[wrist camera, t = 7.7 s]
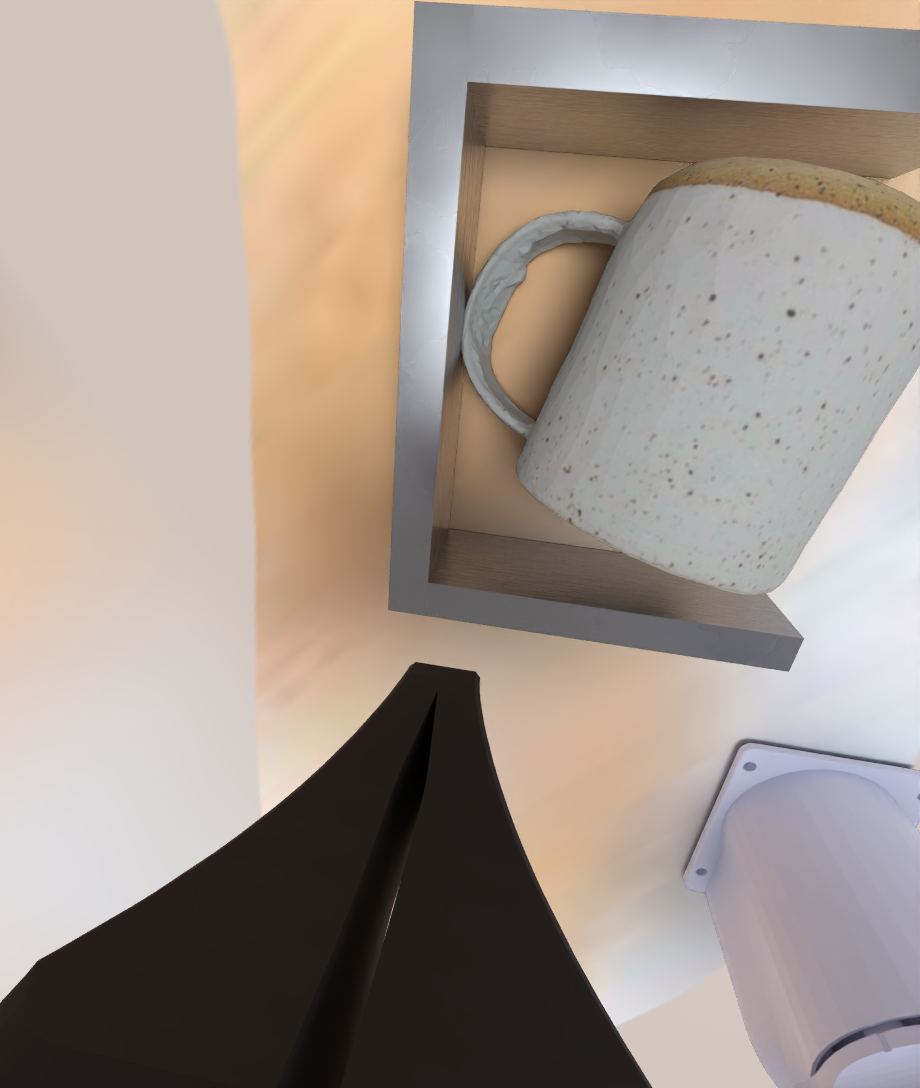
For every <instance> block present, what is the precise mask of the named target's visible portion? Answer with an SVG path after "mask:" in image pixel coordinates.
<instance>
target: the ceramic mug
mask: <svg viewBox="0 0 920 1088" xmlns="http://www.w3.org/2000/svg"><path fill="white" fill-rule="evenodd" d="M571 242H573V243H582V242H591V243H599V244H609V245H612V246H616V247H615V249H614V251H613V253H612V255H611V257H610V259H609V261H608V263H607V265H606V268H605V270H604V272H603V275H602V277H601V279H600V282H599V284H598V286H597V289H596V291H595V293H594V295H593V298H592V300H591V303H590V305H589V308H588V310H587V313H586V315H585V317H584V320H583V322H582V324H581V326H580V329H579V331H578V333H577V336H576V338H575V340H574V343H573V345H572V347H571V349H570V351H569V353H568V355H567V357H566V359H565V361H564V363H563V365H562V367H561V368H560V370H559V372H558V374H557V376H556V378H555V380H554V382H553V385H552V387H551V389H550V392H549V394H548V396H547V399H546V401H545V404H544V406H543V408H542V410H541V412H540V414H539V416H538V418H537V420H536V421H535V420H533V419H532V418H530V417H529V416H527V415H526V414H525V413H524V412H523V411H521V410H520V409H519V408H518V407H517V406H516V405H515V404H514V403H513V402H512V401H511V400H510V398H509V397H508V396H507V395H506V393H505V392H504V391H503V390H502V389H501V387H500V385H499V383H498V381H497V379H496V377H495V375H494V374H493V369H492V366H491V360H490V352H491V349H492V342H491V341H492V338H493V335H494V333H495V330H496V328H497V326H498V324H499V321H500V319H501V317H502V315H503V313H504V310H505V308H506V306H507V303H508V301H509V299H510V297H511V296H512V294H513V292H514V290H515V289H516V287H517V286H518V285H519V284H520V283H522V282H523V281H524V280H525V277H526V272H527V264H528V263H529V262H530V261H532V260H533V259H534V258H535V257H536V256H538V255H539V254H541V253H543V252H545V251H547V250H550V249H552V248H554V247H556V246H558V245H561V244H565V243H571ZM461 349H462V354H463V359H464V363H465V366H466V369H467V371H468V374H469V377H470V380H471V382H472V384H473V385H474V387H475V388H476V391H477V394H478V395H479V396H480V397H481V399H482V400H483V401H484V402H485V403H486V404H487V406H488V407H489V408H490V409H491V410H492V411H493V412H494V414H495V415H496V416H497V417H498V418H499V419H500V420H501V421H503V422H504V423H505V424H506V425H508V426H509V427H510V428H511V429H513V430H514V431H515V432H517V433H518V434H520V435H522V436H523V437H525V439H526V444H525V446H524V448H523V450H522V452H521V454H520V456H519V459H518V462H517V464H516V473H517V477H518V479H519V481H520V482H521V483H522V485H523V486H524V487H525V488H526V489H527V490H528V491H529V493H530V494H531V495H533V496H534V497H535V498H536V499H537V500H538V501H539V502H540V503H542V504H543V505H545V506H546V507H547V508H548V509H549V510H550V511H552V512H553V513H555V514H556V515H558V516H559V517H561V518H562V519H564V520H565V521H567V522H569V523H570V524H571V525H573V526H575V527H577V528H579V529H581V530H583V531H585V532H586V533H588V534H590V535H591V536H593V537H594V538H596V539H597V540H599V541H601V542H603V543H605V544H607V545H609V546H611V547H613V548H615V549H617V550H619V551H620V552H622V553H624V554H626V555H628V556H630V557H633V558H636V559H639V560H641V561H643V562H645V563H647V564H649V565H652V566H654V567H656V568H659V569H661V570H663V571H666V572H668V573H670V574H673V575H677V576H680V577H683V578H685V579H688V580H692V581H695V582H699V583H702V584H705V585H709V586H712V587H715V588H718V589H721V590H724V591H729V592H734V593H738V594H743V595H758V594H763V593H768V592H771V591H773V590H774V589H776V588H777V587H779V586H780V585H781V584H782V583H783V582H784V581H785V580H786V578H787V576H788V575H789V573H790V572H791V570H792V568H793V567H794V565H795V563H796V562H797V560H798V558H799V556H800V555H801V553H802V551H803V549H804V547H805V546H806V544H807V543H808V541H809V540H810V538H811V537H812V535H813V534H814V532H815V531H816V529H817V528H818V526H819V524H820V523H821V521H822V520H823V518H824V516H825V515H826V513H827V512H828V510H829V508H830V507H831V505H832V504H833V502H834V501H835V499H836V498H837V496H838V495H839V493H840V492H841V490H842V488H843V487H844V485H845V484H846V482H847V480H848V479H849V477H850V476H851V474H852V472H853V471H854V469H855V467H856V466H857V464H858V462H859V461H860V459H861V457H862V456H863V454H864V452H865V451H866V449H867V447H868V446H869V444H870V442H871V441H872V439H873V437H874V435H875V434H876V432H877V430H878V429H879V427H880V426H881V424H882V423H883V421H884V420H885V418H886V417H887V415H888V413H889V412H890V410H891V409H892V407H893V406H894V404H895V403H896V401H897V400H898V398H899V397H900V395H901V394H902V392H903V391H904V389H905V388H906V386H907V384H908V383H909V381H910V380H911V378H912V377H913V375H914V374H915V372H916V370H917V369H918V367H919V366H920V202H918V201H916V200H915V199H913V198H911V197H910V196H908V195H906V194H904V193H903V192H901V191H898V190H896V189H894V188H891V187H889V186H887V185H885V184H882V183H880V182H877V181H874V180H871V179H868V178H864V177H861V176H858V175H855V174H851V173H848V172H845V171H841V170H836V169H832V168H827V167H822V166H818V165H813V164H808V163H804V162H799V161H794V160H790V159H772V158H755V157H739V156H738V157H728V158H717V159H712V160H707V161H703V162H698V163H694V164H692V165H690V166H688V167H686V168H684V169H682V170H680V171H678V172H677V173H675V174H673V175H671V176H670V177H668V178H666V179H664V180H662V181H661V182H659V183H658V184H657V185H656V186H655V187H654V188H653V190H652V191H651V192H650V194H649V195H648V197H647V198H646V200H645V201H644V203H643V204H642V206H641V207H640V209H639V210H638V211H637V213H636V214H635V216H634V217H633V219H632V220H631V221H630V222H624V221H622V220H619V219H617V218H615V217H613V216H608V215H603V214H600V213H597V212H579V211H567V212H561V213H556V214H550V215H545V216H542V217H539V218H536V219H534V220H533V221H531V222H530V223H528V224H526V225H525V226H523V227H522V228H520V229H518V230H517V231H515V232H514V233H513V234H512V235H511V236H510V237H508V238H507V239H506V240H505V241H504V242H502V243H501V244H500V245H499V246H498V248H497V249H496V250H495V252H494V253H493V254H492V256H491V257H490V258H489V260H488V261H487V263H486V264H485V266H484V267H483V269H482V270H481V272H480V274H479V276H478V278H477V280H476V282H475V284H474V287H473V289H472V292H471V294H470V297H469V300H468V303H467V306H466V309H465V316H464V325H463V334H462V344H461Z"/></svg>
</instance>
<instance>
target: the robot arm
mask: <svg viewBox="0 0 920 1088" xmlns="http://www.w3.org/2000/svg"><path fill="white" fill-rule="evenodd" d="M748 762H751V763H749V764H745V763H748ZM919 822H920V770H914V769H908V768H902V767H896V766H890V765H884V764H878V763H872V762H865V761H859V760H853V759H847V758H841V757H835V756H829V755H823V754H817V753H811V752H805V751H799V750H793V749H787V748H781V747H775V746H769V745H763V744H757V743H747V744H744V745H743V746H741V747H740V748H739V750H738V752H737V754H736V757H735V759H734V761H733V763H732V766H731V768H730V770H729V773H728V775H727V777H726V779H725V782H724V784H723V786H722V789H721V791H720V793H719V795H718V798H717V800H716V802H715V805H714V807H713V809H712V811H711V814H710V816H709V818H708V821H707V823H706V825H705V827H704V830H703V832H702V834H701V837H700V839H699V841H698V843H697V846H696V848H695V850H694V853H693V855H692V857H691V859H690V862H689V864H688V866H687V869H686V871H685V873H684V875H683V880H684V884H685V886H686V887H687V888H688V889H689V890H692V891H697V892H702V893H705V894H706V897H707V901H708V904H709V908H710V911H711V914H712V918H713V921H714V924H715V928H716V931H717V934H718V938H719V941H720V944H721V948H722V951H723V954H724V958H725V961H726V964H727V967H728V971H729V974H730V978H731V981H732V984H733V987H734V991H735V994H736V998H737V1001H738V1004H739V1007H740V1011H741V1014H742V1018H743V1021H744V1024H745V1028H746V1030H747V1033H748V1036H749V1038H750V1041H751V1044H752V1046H753V1048H754V1050H755V1052H756V1054H757V1056H758V1058H759V1060H760V1061H761V1063H762V1065H763V1067H764V1068H765V1070H766V1071H767V1073H768V1074H769V1076H770V1077H771V1079H772V1080H773V1082H774V1083H775V1084H776V1086H777V1087H778V1088H920V832H919V831H918V830H917V828H916V826H917V825H918V823H919ZM400 881H401V882H400ZM398 888H399V889H398ZM397 891H398V893H397ZM396 895H397V896H396ZM395 898H396V900H395ZM394 901H395V904H394ZM393 904H394V907H393ZM392 908H393V911H392ZM391 911H392V914H391ZM390 915H391V918H390ZM389 919H390V921H389ZM388 923H389V925H388ZM387 926H388V928H387ZM386 930H387V932H386ZM385 934H386V936H385ZM384 938H385V939H384ZM383 942H384V943H383ZM0 1088H652V1087H651V1085H650V1083H649V1082H648V1080H647V1078H646V1077H645V1075H644V1073H643V1072H642V1070H641V1069H640V1067H639V1066H638V1064H637V1062H636V1061H635V1059H634V1057H633V1056H632V1054H631V1052H630V1051H629V1049H628V1048H627V1046H626V1044H625V1043H624V1041H623V1039H622V1038H621V1036H620V1034H619V1033H618V1031H617V1029H616V1027H615V1026H614V1024H613V1022H612V1021H611V1019H610V1017H609V1016H608V1014H607V1012H606V1011H605V1009H604V1007H603V1005H602V1004H601V1002H600V1000H599V998H598V997H597V995H596V993H595V991H594V989H593V988H592V986H591V984H590V982H589V980H588V979H587V977H586V975H585V973H584V971H583V970H582V968H581V966H580V964H579V962H578V961H577V959H576V957H575V955H574V953H573V951H572V949H571V947H570V945H569V943H568V941H567V939H566V937H565V935H564V933H563V931H562V929H561V927H560V925H559V923H558V921H557V919H556V917H555V915H554V913H553V911H552V910H551V908H550V906H549V904H548V902H547V900H546V898H545V896H544V894H543V892H542V889H541V887H540V885H539V883H538V881H537V878H536V876H535V874H534V872H533V869H532V867H531V865H530V862H529V860H528V858H527V856H526V853H525V851H524V848H523V846H522V843H521V841H520V838H519V836H518V834H517V831H516V829H515V826H514V823H513V821H512V818H511V815H510V812H509V810H508V807H507V804H506V801H505V798H504V795H503V792H502V789H501V786H500V783H499V780H498V776H497V773H496V769H495V766H494V763H493V759H492V755H491V751H490V747H489V743H488V739H487V735H486V730H485V726H484V720H483V714H482V708H481V701H480V677H479V676H478V674H477V673H476V672H474V671H468V670H461V669H455V668H449V667H443V666H437V665H430V664H424V663H418V662H415V663H414V664H412V665H411V666H410V667H409V668H408V670H407V671H406V673H405V674H404V676H403V677H402V678H401V680H400V681H399V682H398V684H397V685H396V686H395V688H394V689H393V690H392V691H391V693H390V694H389V695H388V696H387V698H386V699H385V700H384V701H383V702H382V704H381V705H380V706H379V707H378V708H377V709H376V710H375V712H374V713H373V714H372V715H371V716H370V717H369V718H368V719H367V721H366V722H365V723H364V724H363V725H362V726H361V727H360V728H359V730H358V731H357V732H356V733H355V734H354V735H353V736H352V737H351V738H350V739H349V740H348V741H347V742H346V743H345V744H344V745H343V746H342V747H341V748H340V749H339V750H338V751H337V752H336V753H335V754H334V755H333V756H332V757H331V758H330V759H329V760H328V761H327V762H326V763H325V764H324V765H323V766H322V767H321V768H319V769H318V770H317V771H316V772H315V773H314V774H313V775H312V776H311V777H310V778H308V779H307V780H306V781H305V782H304V783H303V784H302V785H301V786H299V787H298V788H297V789H296V790H295V791H294V792H292V793H291V794H290V795H289V796H288V797H286V798H285V799H284V800H283V801H282V802H281V803H279V804H278V805H277V806H276V807H274V808H273V809H272V810H270V811H269V812H268V813H267V814H265V815H264V816H263V817H261V818H260V819H259V820H258V821H256V822H255V823H254V824H253V825H251V826H250V827H249V828H247V829H246V830H245V831H243V832H242V833H241V834H239V835H238V836H237V837H235V838H234V839H233V840H231V841H230V842H229V843H227V844H226V845H225V846H223V847H222V848H220V849H219V850H217V851H216V852H215V853H213V854H211V855H210V856H208V857H207V858H206V859H204V860H203V861H201V862H199V863H198V864H196V865H195V866H193V867H192V868H190V869H189V870H187V871H186V872H184V873H183V874H181V875H180V876H178V877H177V878H175V879H174V880H173V881H171V882H169V883H168V884H166V885H165V886H163V887H162V888H161V889H159V890H157V891H156V892H154V893H153V894H151V895H150V896H148V897H146V898H145V899H143V900H142V901H140V902H138V903H137V904H135V905H133V906H132V907H130V908H128V909H127V910H125V911H123V912H121V913H120V914H118V915H116V916H115V917H113V918H111V919H109V920H108V921H106V922H104V923H103V924H101V925H99V926H97V927H96V928H94V929H92V930H91V931H89V932H87V933H85V934H84V935H82V936H80V937H79V938H77V939H75V940H74V941H72V942H70V943H68V944H66V945H65V946H63V947H61V948H60V949H58V950H56V951H54V952H52V953H51V954H49V955H47V956H45V957H44V958H42V959H40V960H38V961H37V962H36V963H35V965H34V966H33V967H32V968H31V969H30V971H29V972H28V973H27V974H26V976H25V977H24V978H23V979H22V980H21V981H20V982H19V983H18V984H17V985H16V986H15V987H14V988H13V990H12V991H11V992H10V993H9V994H8V995H7V996H6V997H5V998H4V999H3V1000H2V1002H1V1003H0Z"/></svg>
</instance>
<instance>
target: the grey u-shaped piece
mask: <svg viewBox="0 0 920 1088" xmlns="http://www.w3.org/2000/svg"><path fill="white" fill-rule="evenodd" d="M485 146H491V147H504V148H516V149H529V150H542V151H554V152H567V153H579V154H592V155H605V156H617V157H630V158H642V159H655V160H668V161H680V162H693V163H698V162H703V161H707V160H712V159H717V158H728V157H738V156H739V157H755V158H772V159H790V160H794V161H799V162H804V163H808V164H813V165H818V166H822V167H827V168H832V169H836V170H841V171H845V172H848V173H851V174H855V175H858V176H869V177H882V178H894V177H897V176H899V175H902V174H904V173H907V172H910V171H912V170H915V169H917V168H920V30H906V29H889V28H872V27H854V26H837V25H819V24H802V23H785V22H767V21H750V20H732V19H715V18H698V17H680V16H663V15H645V14H628V13H611V12H593V11H576V10H558V9H541V8H524V7H506V6H489V5H472V4H454V3H437V2H419V1H415V6H414V29H413V52H412V75H411V98H410V121H409V144H408V168H407V191H406V214H405V237H404V260H403V283H402V306H401V329H400V352H399V375H398V399H397V422H396V445H395V468H394V491H393V514H392V537H391V560H390V583H389V606H388V610H392V611H398V612H405V613H411V614H418V615H424V616H431V617H437V618H444V619H450V620H457V621H463V622H470V623H476V624H483V625H489V626H496V627H502V628H509V629H515V630H522V631H528V632H535V633H541V634H548V635H554V636H561V637H567V638H574V639H580V640H587V641H593V642H600V643H606V644H613V645H619V646H626V647H632V648H639V649H645V650H652V651H658V652H665V653H671V654H678V655H684V656H691V657H697V658H704V659H710V660H717V661H723V662H730V663H736V664H743V665H749V666H756V667H762V668H769V669H775V670H782V671H788V672H789V670H790V668H791V666H792V664H793V661H794V659H795V657H796V655H797V653H798V650H799V648H800V646H801V644H802V642H803V639H804V638H803V637H802V636H801V634H800V633H799V632H798V631H797V630H796V629H795V627H794V626H793V625H792V624H791V623H790V621H789V620H788V619H787V618H786V617H785V616H784V614H783V613H782V612H781V611H780V610H779V608H778V607H777V606H776V605H775V604H774V603H773V601H772V600H771V599H770V598H769V597H768V595H767V594H766V593H763V594H758V595H743V594H738V593H734V592H729V591H724V590H721V589H718V588H715V587H712V586H709V585H705V584H702V583H699V582H695V581H692V580H688V579H685V578H683V577H680V576H677V575H673V574H670V573H668V572H666V571H663V570H661V569H659V568H656V567H654V566H652V565H649V564H647V563H645V562H643V561H641V560H639V559H636V558H633V557H630V556H628V555H626V554H624V553H619V552H612V551H605V550H597V549H590V548H583V547H576V546H569V545H562V544H554V543H547V542H540V541H533V540H526V539H519V538H511V537H504V536H497V535H490V534H483V533H476V532H468V531H461V530H454V529H449V526H450V515H451V504H452V494H453V483H454V472H455V462H456V451H457V441H458V430H459V419H460V409H461V398H462V388H463V377H464V366H465V363H464V359H463V354H462V349H461V344H462V334H463V325H464V316H465V309H466V306H467V303H468V300H469V297H470V294H471V292H472V281H473V271H474V260H475V250H476V239H477V228H478V218H479V207H480V197H481V186H482V175H483V165H484V154H485Z"/></svg>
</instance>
